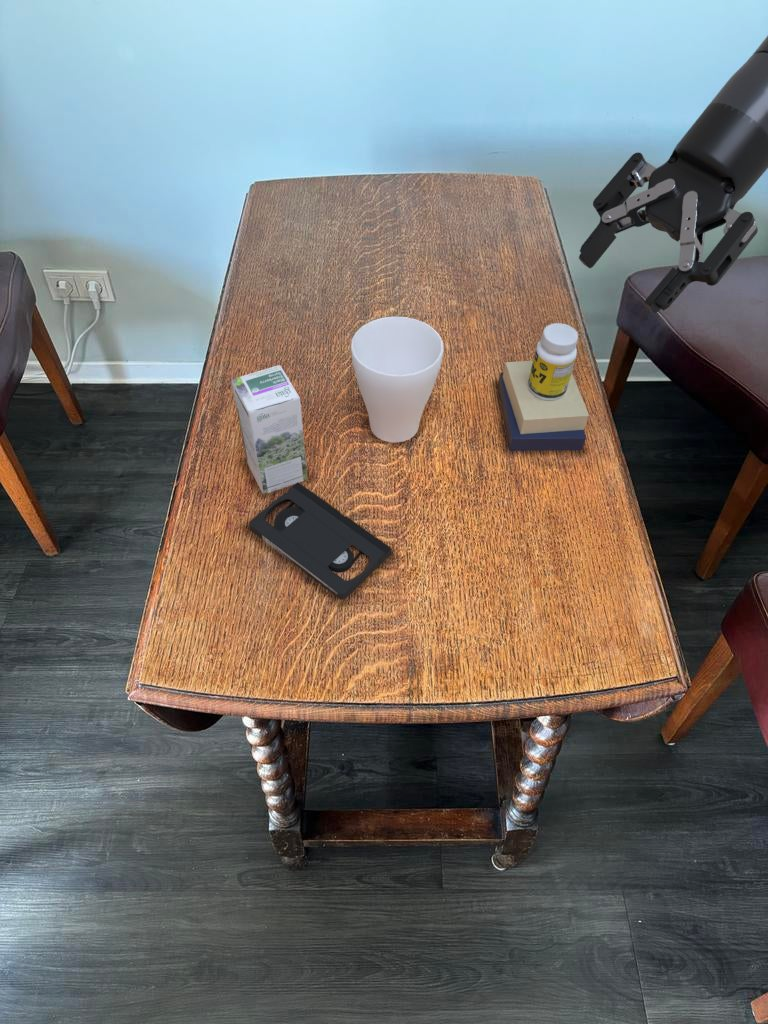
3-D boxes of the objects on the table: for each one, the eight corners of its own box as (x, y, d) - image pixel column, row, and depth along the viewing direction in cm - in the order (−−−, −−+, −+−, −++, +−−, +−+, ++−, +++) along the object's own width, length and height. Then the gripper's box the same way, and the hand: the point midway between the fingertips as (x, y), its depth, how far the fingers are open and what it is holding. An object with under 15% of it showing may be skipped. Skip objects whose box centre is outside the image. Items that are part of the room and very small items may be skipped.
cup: (350, 402, 95) (347, 317, 84) (429, 398, 96) (437, 313, 85) (355, 462, 88) (353, 378, 78) (440, 457, 89) (450, 373, 78)
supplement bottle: (521, 379, 90) (533, 324, 83) (555, 372, 91) (570, 317, 84) (537, 405, 87) (551, 350, 81) (572, 397, 88) (589, 342, 81)
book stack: (580, 454, 90) (591, 423, 85) (508, 455, 90) (515, 423, 85) (563, 388, 97) (572, 356, 93) (497, 389, 97) (503, 357, 93)
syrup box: (291, 451, 89) (279, 360, 78) (309, 484, 86) (300, 394, 75) (247, 466, 88) (228, 375, 76) (264, 500, 85) (247, 411, 73)
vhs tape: (249, 533, 82) (247, 523, 80) (299, 493, 85) (297, 482, 84) (342, 605, 76) (342, 595, 74) (391, 558, 80) (391, 548, 78)
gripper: (670, 74, 64) (548, 233, 69) (810, 137, 56) (662, 309, 61) (690, 123, 70) (577, 265, 75) (818, 185, 62) (684, 338, 67)
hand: (616, 285), depth 68 cm, fingers open, 8 cm apart
